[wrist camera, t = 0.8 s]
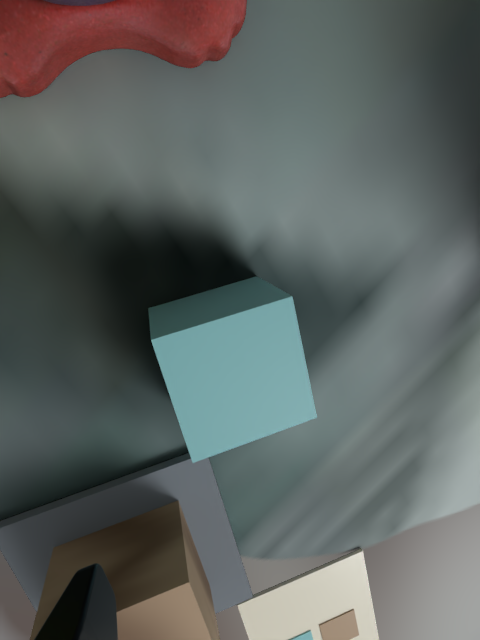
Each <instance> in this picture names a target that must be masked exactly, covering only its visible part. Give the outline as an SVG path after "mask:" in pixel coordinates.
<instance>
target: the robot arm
mask: <svg viewBox="0 0 480 640" xmlns="http://www.w3.org/2000/svg"><path fill="white" fill-rule="evenodd" d="M34 640H118V632H117V611H116V599H115V594H114V591H113V589H112V587H111V585H110V583H109V581H108V579H107V576H106V574H105V572H104V570H103V568H102V566H101V565H100V564H98V563H94V564H92V565H89V566H87V567H84V568H82V569H79V570H78V571H77V572H76V573H75V574H74V576H73V577H72V579H71V581H70V582H69V584H68V585H67V587H66V589H65V590H64V592H63V593H62V595H61V597H60V598H59V600H58V602H57V603H56V605H55V606H54V608H53V610H52V611H51V613H50V614H49V616H48V618H47V619H46V621H45V623H44V624H43V626H42V627H41V629H40V631H39V632H38V634H37V635H36V637H35V639H34Z"/></svg>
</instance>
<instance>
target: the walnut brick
mask: <svg viewBox="0 0 480 640" xmlns="http://www.w3.org/2000/svg"><path fill="white" fill-rule="evenodd" d="M94 563H98V564H100V565H101V566H102V568H103V570H104V572H105V574H106V576H107V579H108V581H109V583H110V585H111V587H112V589H113V591H114V594H115V599H116V611H117V632H118V640H220V637H219V632H218V626H217V622H216V616H215V610H214V605H213V600H212V594H211V589H210V585H209V582H208V580H207V577H206V574H205V571H204V569H203V566H202V563H201V560H200V558H199V555H198V552H197V550H196V547H195V544H194V541H193V539H192V536H191V533H190V531H189V528H188V525H187V522H186V520H185V517H184V514H183V512H182V509H181V506H180V503H179V501H175V502H173V503H170V504H167V505H165V506H162V507H159V508H157V509H154V510H151V511H149V512H146V513H144V514H141V515H138V516H136V517H133V518H130V519H128V520H125V521H122V522H120V523H117V524H115V525H112V526H109V527H107V528H104V529H101V530H99V531H96V532H94V533H91V534H88V535H86V536H83V537H80V538H78V539H75V540H72V541H70V542H67V543H65V544H62V545H59V546H57V547H54V548H53V551H52V555H51V559H50V563H49V567H48V571H47V575H46V579H45V583H44V586H43V590H42V594H41V598H40V602H39V606H38V610H37V614H36V618H35V622H34V626H33V629H32V634H31V637H30V640H34V639H35V637H36V635H37V634H38V632H39V631H40V629H41V627H42V626H43V624H44V623H45V621H46V619H47V618H48V616H49V614H50V613H51V611H52V610H53V608H54V606H55V605H56V603H57V602H58V600H59V598H60V597H61V595H62V593H63V592H64V590H65V589H66V587H67V585H68V584H69V582H70V581H71V579H72V577H73V576H74V574H75V573H76V572H77V571H78V570H79V569H82V568H84V567H87V566H89V565H92V564H94Z"/></svg>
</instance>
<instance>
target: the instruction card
mask: <svg viewBox="0 0 480 640" xmlns="http://www.w3.org/2000/svg"><path fill="white" fill-rule="evenodd" d="M237 606H238V609H239V612H240V615H241V617H242V621H243V624H244V626H245V629H246V632H247V635H248V638H249V640H379V636H378V631H377V626H376V620H375V615H374V610H373V604H372V599H371V593H370V587H369V582H368V576H367V571H366V566H365V561H364V555H363V551H362V549H358V550H356V551H354V552H351V553H349V554H347V555H345V556H342V557H340V558H338V559H336V560H333V561H331V562H328V563H326V564H324V565H322V566H319V567H317V568H314V569H312V570H310V571H308V572H305V573H303V574H301V575H298V576H296V577H294V578H291V579H289V580H287V581H284V582H282V583H280V584H278V585H275V586H273V587H271V588H268V589H266V590H264V591H261V592H259V593H257V594H254V595H253V598H250V599H248V600H246V601H243V602H241V603H239V604H237Z"/></svg>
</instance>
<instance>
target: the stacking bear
mask: <svg viewBox="0 0 480 640" xmlns="http://www.w3.org/2000/svg"><path fill="white" fill-rule="evenodd" d="M246 4H247V0H0V98H2V97H6V96H8V95H10V94H15V95H17V96H20V97H30V96H33V95H36V94H38V93H40V92H42V91H43V90H44V89H46V88H47V87H48V86H49V85H50V84H51V83H52V82H53V81H54V79H55V78H56V77H57V76H58V75H59V74H60V73H61V72H62V71H63V70H64V69H65V68H66V67H67V66H69V65H70V64H72V63H73V62H75V61H76V60H78V59H80V58H82V57H84V56H86V55H88V54H90V53H93V52H96V51H100V50H107V49H117V48H123V49H134V50H140V51H143V52H147V53H149V54H152V55H154V56H157V57H159V58H161V59H163V60H165V61H167V62H169V63H172V64H174V65H176V66H181V67H186V68H194V67H197V66H199V65H201V64H202V63H203V62H204V61H208V60H210V61H218V60H220V59H222V58H223V57H224V56H225V55H226V54H227V52H228V50H229V48H230V46H231V40H232V38H234V37H235V36H236V35H237V34H238V33H239V31H240V30H241V27H242V25H243V22H244V19H245V15H246Z"/></svg>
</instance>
